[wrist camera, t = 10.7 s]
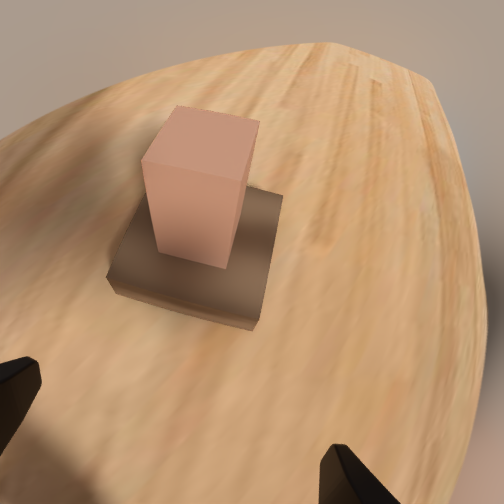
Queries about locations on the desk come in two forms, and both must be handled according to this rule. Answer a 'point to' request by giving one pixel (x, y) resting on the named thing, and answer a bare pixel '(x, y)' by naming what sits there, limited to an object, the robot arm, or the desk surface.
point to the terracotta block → (198, 182)
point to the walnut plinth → (202, 267)
